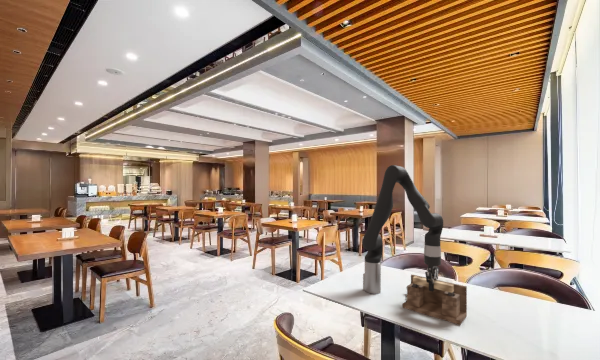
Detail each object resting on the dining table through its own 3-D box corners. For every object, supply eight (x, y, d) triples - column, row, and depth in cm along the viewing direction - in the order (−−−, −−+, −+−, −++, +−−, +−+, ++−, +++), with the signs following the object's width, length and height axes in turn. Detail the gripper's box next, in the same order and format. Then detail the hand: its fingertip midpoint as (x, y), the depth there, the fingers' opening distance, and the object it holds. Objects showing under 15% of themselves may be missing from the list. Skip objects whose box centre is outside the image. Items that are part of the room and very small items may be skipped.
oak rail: (412, 292, 142) (412, 277, 142) (414, 290, 144) (414, 276, 144) (452, 302, 130) (452, 286, 130) (453, 300, 132) (453, 284, 132)
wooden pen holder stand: (402, 307, 143) (402, 279, 143) (411, 300, 152) (411, 274, 152) (460, 325, 125) (460, 293, 125) (466, 315, 134) (466, 286, 134)
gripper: (429, 250, 145) (429, 284, 145) (419, 255, 135) (419, 291, 134) (444, 253, 140) (445, 288, 140) (436, 258, 130) (436, 296, 129)
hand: (432, 289), depth 137 cm, fingers closed on oak rail, 3 cm apart
